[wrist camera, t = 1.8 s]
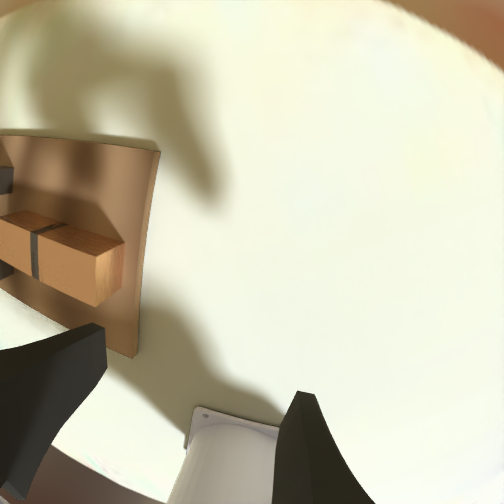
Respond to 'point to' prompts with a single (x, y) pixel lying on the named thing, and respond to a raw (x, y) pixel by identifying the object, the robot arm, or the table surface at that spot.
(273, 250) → the table surface
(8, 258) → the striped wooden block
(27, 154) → the brown flat board
